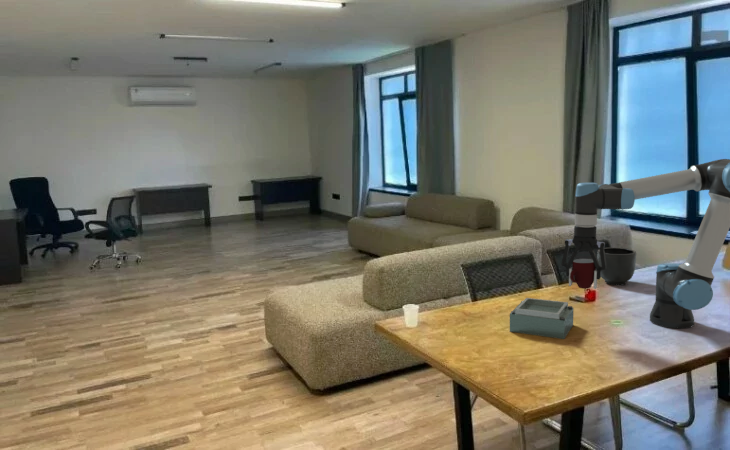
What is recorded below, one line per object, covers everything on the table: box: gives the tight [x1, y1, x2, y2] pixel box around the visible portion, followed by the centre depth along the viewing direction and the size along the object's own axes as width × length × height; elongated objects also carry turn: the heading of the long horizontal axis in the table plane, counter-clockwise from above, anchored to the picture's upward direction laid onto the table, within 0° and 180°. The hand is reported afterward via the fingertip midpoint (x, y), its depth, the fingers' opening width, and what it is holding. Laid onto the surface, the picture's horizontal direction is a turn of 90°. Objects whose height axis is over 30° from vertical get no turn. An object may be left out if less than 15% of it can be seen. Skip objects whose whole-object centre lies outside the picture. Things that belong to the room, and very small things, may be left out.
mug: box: [570, 258, 597, 290], centre depth 209 cm, size 10×8×10 cm
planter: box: [596, 247, 637, 286], centre depth 275 cm, size 17×17×16 cm
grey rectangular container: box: [509, 297, 575, 340], centre depth 218 cm, size 20×17×9 cm
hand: (582, 286), depth 209 cm, fingers closed on mug, 8 cm apart
